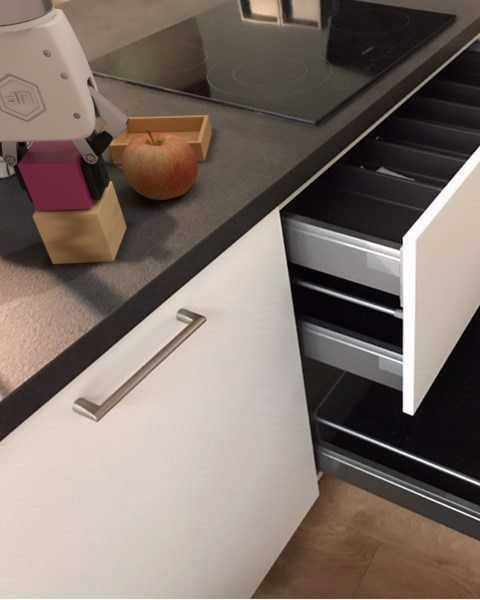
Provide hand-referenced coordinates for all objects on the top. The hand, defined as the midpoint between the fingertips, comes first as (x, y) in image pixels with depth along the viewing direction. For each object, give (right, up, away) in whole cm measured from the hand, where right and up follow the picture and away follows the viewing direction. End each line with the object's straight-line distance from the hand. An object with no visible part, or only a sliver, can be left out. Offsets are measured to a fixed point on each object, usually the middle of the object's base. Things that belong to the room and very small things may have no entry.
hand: (69, 192), depth 64 cm
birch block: (0, -5, +4) cm, 7 cm away
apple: (+5, +2, +12) cm, 14 cm away
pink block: (0, 0, 0) cm, 0 cm away
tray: (+2, +9, +20) cm, 22 cm away
